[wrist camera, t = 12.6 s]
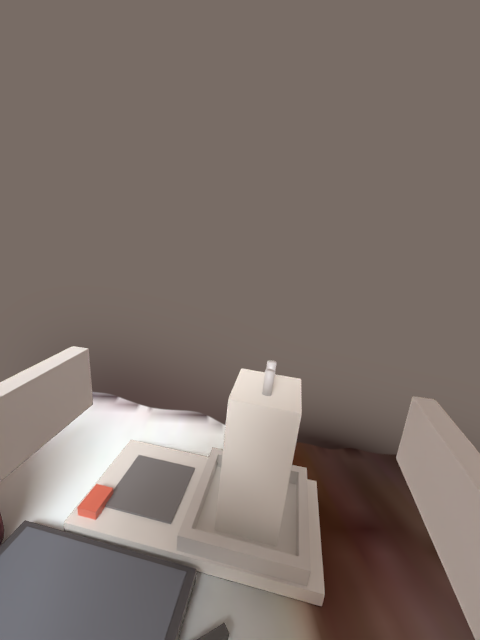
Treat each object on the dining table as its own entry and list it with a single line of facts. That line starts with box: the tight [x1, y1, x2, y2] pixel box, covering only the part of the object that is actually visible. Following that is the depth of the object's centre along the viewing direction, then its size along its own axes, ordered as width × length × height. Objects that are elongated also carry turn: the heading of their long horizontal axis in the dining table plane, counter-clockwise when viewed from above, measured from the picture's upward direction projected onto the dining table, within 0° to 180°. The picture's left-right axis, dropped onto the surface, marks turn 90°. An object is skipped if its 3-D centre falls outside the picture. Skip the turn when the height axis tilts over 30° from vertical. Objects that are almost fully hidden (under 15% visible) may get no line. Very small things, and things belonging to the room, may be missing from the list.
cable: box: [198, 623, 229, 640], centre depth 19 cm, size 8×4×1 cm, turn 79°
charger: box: [215, 360, 302, 546], centre depth 24 cm, size 5×5×14 cm
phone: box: [0, 521, 196, 640], centre depth 19 cm, size 7×14×1 cm, turn 79°
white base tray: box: [64, 440, 325, 607], centre depth 27 cm, size 20×10×3 cm, turn 79°
